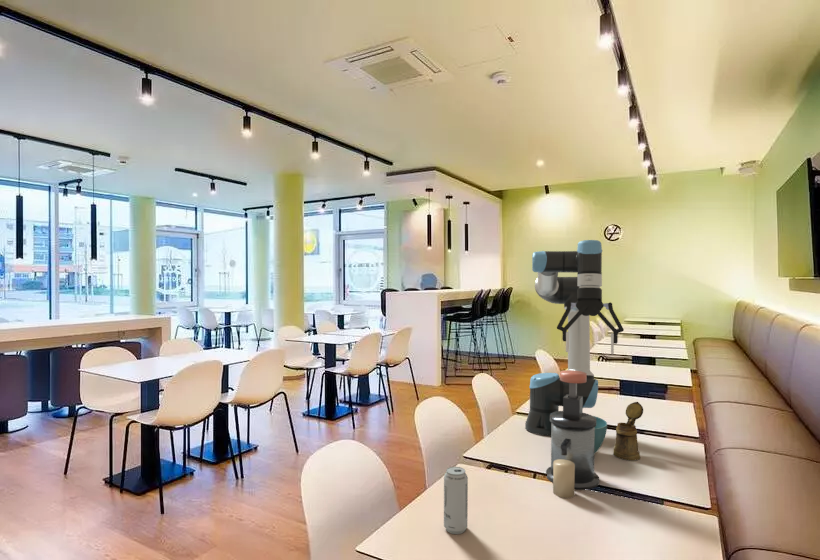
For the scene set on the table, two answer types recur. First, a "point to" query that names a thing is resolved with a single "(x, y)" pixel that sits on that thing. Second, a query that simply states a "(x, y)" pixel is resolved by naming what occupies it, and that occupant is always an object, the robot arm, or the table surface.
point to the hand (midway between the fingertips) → (589, 353)
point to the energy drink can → (455, 500)
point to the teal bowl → (599, 433)
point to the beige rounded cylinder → (563, 478)
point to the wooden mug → (628, 434)
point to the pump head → (573, 380)
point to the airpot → (574, 442)
